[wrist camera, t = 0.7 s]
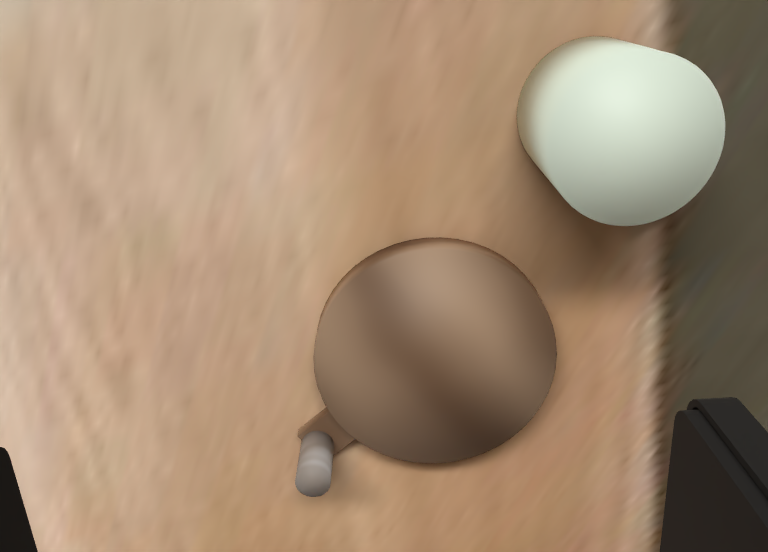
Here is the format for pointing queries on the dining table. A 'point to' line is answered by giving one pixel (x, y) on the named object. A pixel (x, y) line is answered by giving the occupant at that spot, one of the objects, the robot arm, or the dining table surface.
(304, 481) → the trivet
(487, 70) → the dining table surface
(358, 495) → the dining table surface
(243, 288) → the dining table surface
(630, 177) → the pale green rounded cylinder
